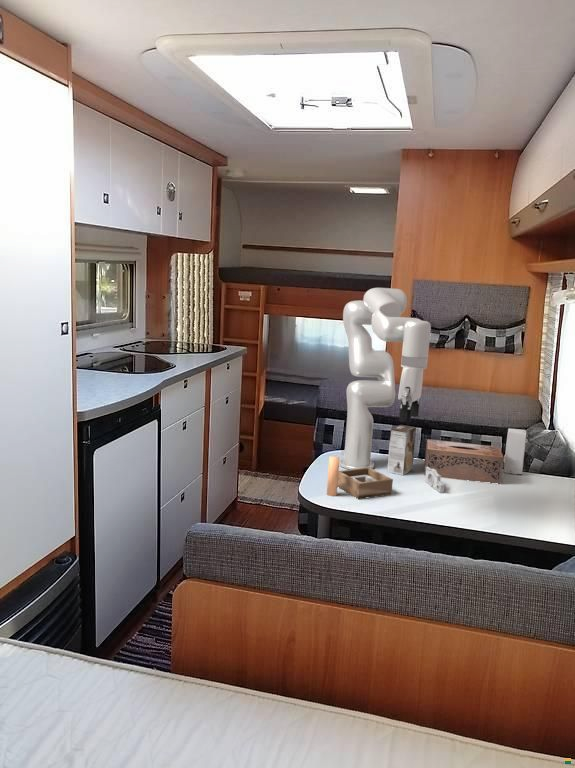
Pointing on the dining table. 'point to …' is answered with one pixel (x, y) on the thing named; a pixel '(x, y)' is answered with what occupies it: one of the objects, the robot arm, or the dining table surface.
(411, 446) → the coffee box
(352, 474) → the box
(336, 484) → the peg
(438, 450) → the tissue box cover
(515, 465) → the skincare box
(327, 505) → the dining table surface
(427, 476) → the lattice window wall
